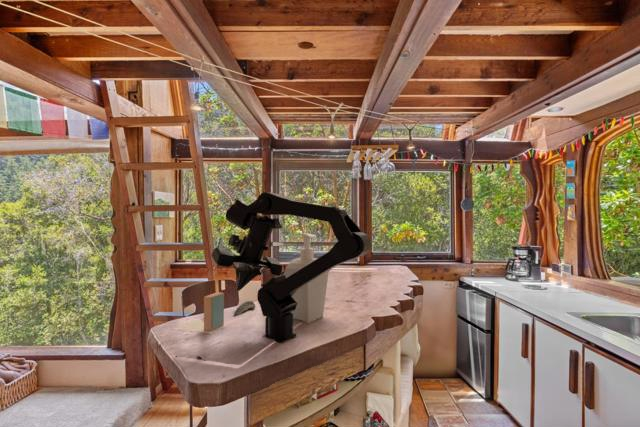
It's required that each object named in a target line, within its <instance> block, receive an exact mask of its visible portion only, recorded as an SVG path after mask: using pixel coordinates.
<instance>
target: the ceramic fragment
mask: <svg viewBox="0 0 640 427" xmlns="http://www.w3.org/2000/svg"><path fill="white" fill-rule="evenodd" d="M255 308H256V304H255V302H254V301H252V300H247V301H244V302H243V303H241V304H239V306H238V307H236V309H234V310H232V312H231V313H232V314H233V317H238V316H241V314H242V313H243V312H244V311H246V310H253V309H255Z"/></svg>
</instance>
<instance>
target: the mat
mask: <svg viewBox="0 0 640 427" xmlns="http://www.w3.org/2000/svg"><path fill="white" fill-rule="evenodd" d="M229 325H230V323H225V322H224V325H223V326H221V327H219V328H217V329H215V330H213V331H204V320H197V319H196V320H195V319H193V320H191V321H189V322H186V323H183V324H181V325H179V326H175V327H174V328H172V330H176V331H184V332H185V331H186V332H194V333H199V334H200V333H201V334H213V333H215V332H217V331H218V330H221V329H223V328H225V327H227V326H229Z"/></svg>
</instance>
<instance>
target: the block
mask: <svg viewBox="0 0 640 427" xmlns="http://www.w3.org/2000/svg"><path fill="white" fill-rule="evenodd" d="M224 315H225V292H213V293H211V294H208V295H205V296H204V297H203V321H204V331H213V330H215V329H217V328H219V327H221V326H223V325H224V323H225V321H224V320H225V316H224Z"/></svg>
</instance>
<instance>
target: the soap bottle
mask: <svg viewBox="0 0 640 427" xmlns="http://www.w3.org/2000/svg"><path fill="white" fill-rule="evenodd" d="M299 236H303V247H301V248H299V249H300V255H299V256H300V257H299V258H293V259H292V260H291V261H290V262H289V263H288V265H287V266H286V267H285V270H284V273H283V275H284V274H285V276H286V278H287V277H289V276H291V275H292V274H294V273H295V272H297V271H299V270H300V269H302V268H303V267H305V266H307V265H308V264H310V263H311V262H313V261H315V260H316V259H317V258H315V256H314V254H315V253H314V251H315V250H314V248H312V247H311V239H317V236H316V235H314V234H312V233H307V232H306V233H304V232H303V233H295V234H292V235H290V236H289V237H290V239H294V238H295V237H299ZM329 271H330V270H329ZM329 271H327V272H326V273H324V274H322V275H321V276H319V277H317V278H316V279H314V280H312V281H311V282H309V283H307V284H306V285H304V286H302V287H301V288H299V289H298V290H297V291H296V292H295V293H294V294H293V296H292V297H293V299H294V300H295V301H296V302H297V306H296V309H295V311H292V312H291V313H293V320H301V321H300V322H301V323H306V324H310V323H312V322H313V321H316V320H319V319H321V318H323V317H324V312H325V311H324V310H325V302H326V294H327V288H328V287H327V286H328V279H329Z"/></svg>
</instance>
